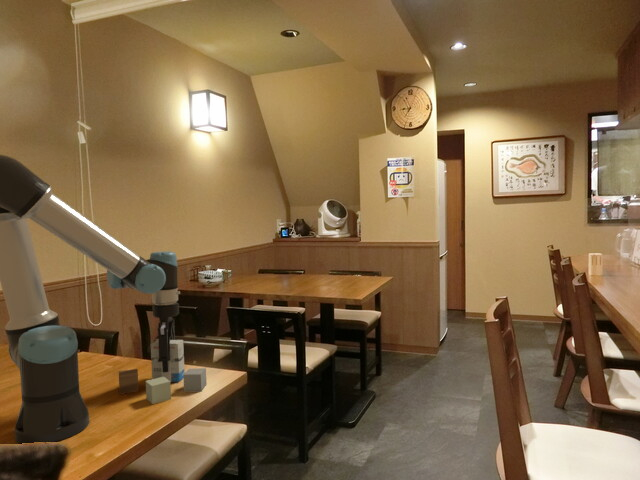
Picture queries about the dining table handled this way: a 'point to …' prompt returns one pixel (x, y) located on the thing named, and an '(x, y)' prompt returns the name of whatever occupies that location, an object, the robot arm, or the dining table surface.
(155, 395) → the sage cube
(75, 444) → the dining table surface
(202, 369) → the slate cube
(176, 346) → the ink box
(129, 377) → the walnut cube
